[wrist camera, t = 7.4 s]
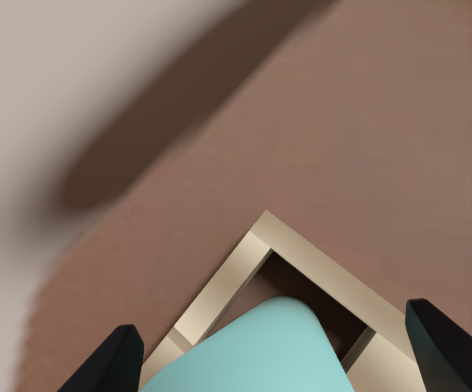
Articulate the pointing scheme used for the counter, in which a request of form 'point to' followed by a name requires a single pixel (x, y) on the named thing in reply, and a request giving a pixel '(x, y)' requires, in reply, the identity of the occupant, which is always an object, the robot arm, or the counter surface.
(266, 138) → the counter surface
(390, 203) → the counter surface
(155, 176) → the counter surface
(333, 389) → the pin
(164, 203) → the counter surface
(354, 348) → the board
